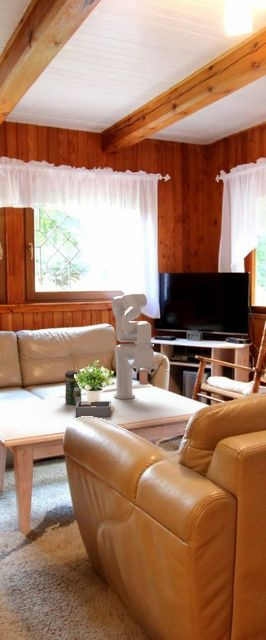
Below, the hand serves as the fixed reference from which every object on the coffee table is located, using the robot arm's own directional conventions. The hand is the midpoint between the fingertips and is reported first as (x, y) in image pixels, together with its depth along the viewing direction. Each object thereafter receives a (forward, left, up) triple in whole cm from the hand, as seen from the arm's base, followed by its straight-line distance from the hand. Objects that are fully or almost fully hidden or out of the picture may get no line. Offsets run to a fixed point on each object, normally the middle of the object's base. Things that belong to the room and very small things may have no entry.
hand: (143, 380), depth 279 cm
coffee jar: (-23, -39, -17) cm, 49 cm away
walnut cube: (+1, -30, -17) cm, 35 cm away
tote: (+1, -26, -17) cm, 31 cm away
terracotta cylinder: (0, 0, -2) cm, 2 cm away
